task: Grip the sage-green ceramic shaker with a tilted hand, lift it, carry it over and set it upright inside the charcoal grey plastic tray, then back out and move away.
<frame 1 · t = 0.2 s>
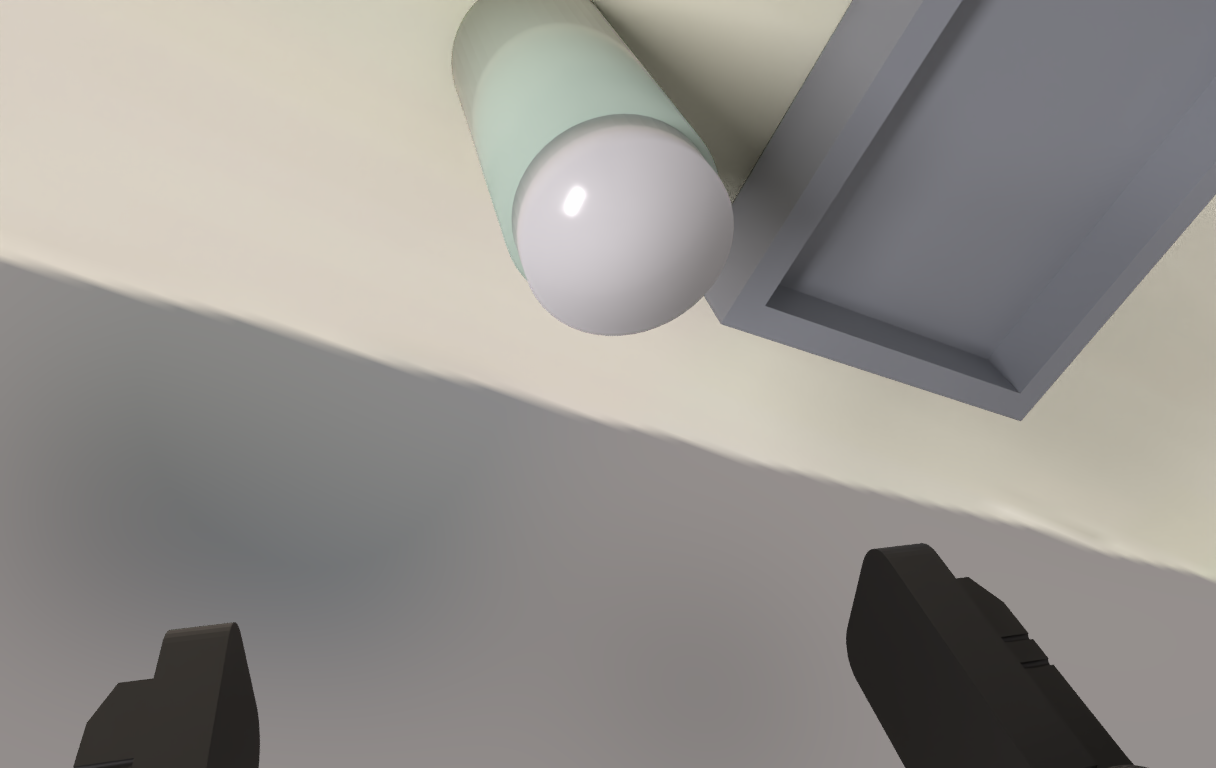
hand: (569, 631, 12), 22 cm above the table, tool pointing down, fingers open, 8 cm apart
shaker: (533, 63, 30), on the table
tray: (997, 115, 35), on the table
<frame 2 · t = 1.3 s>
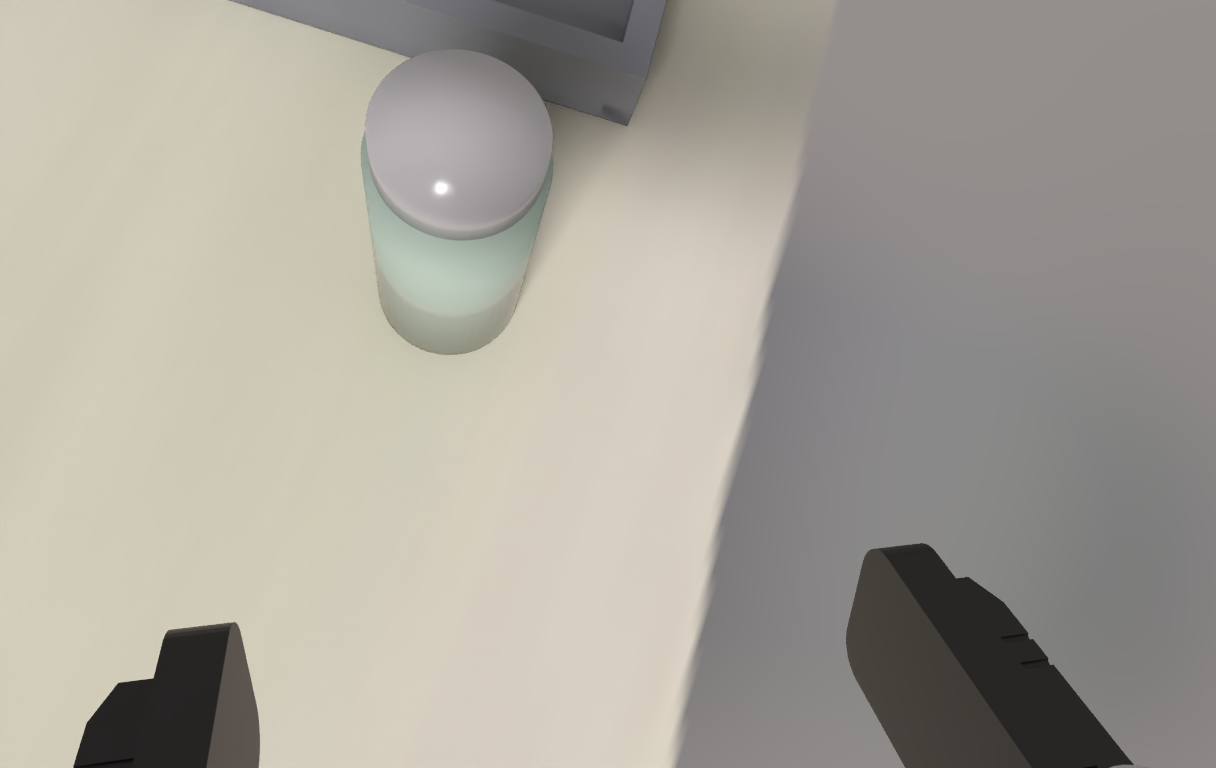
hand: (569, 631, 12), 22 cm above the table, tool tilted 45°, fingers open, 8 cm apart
shaker: (449, 288, 36), on the table
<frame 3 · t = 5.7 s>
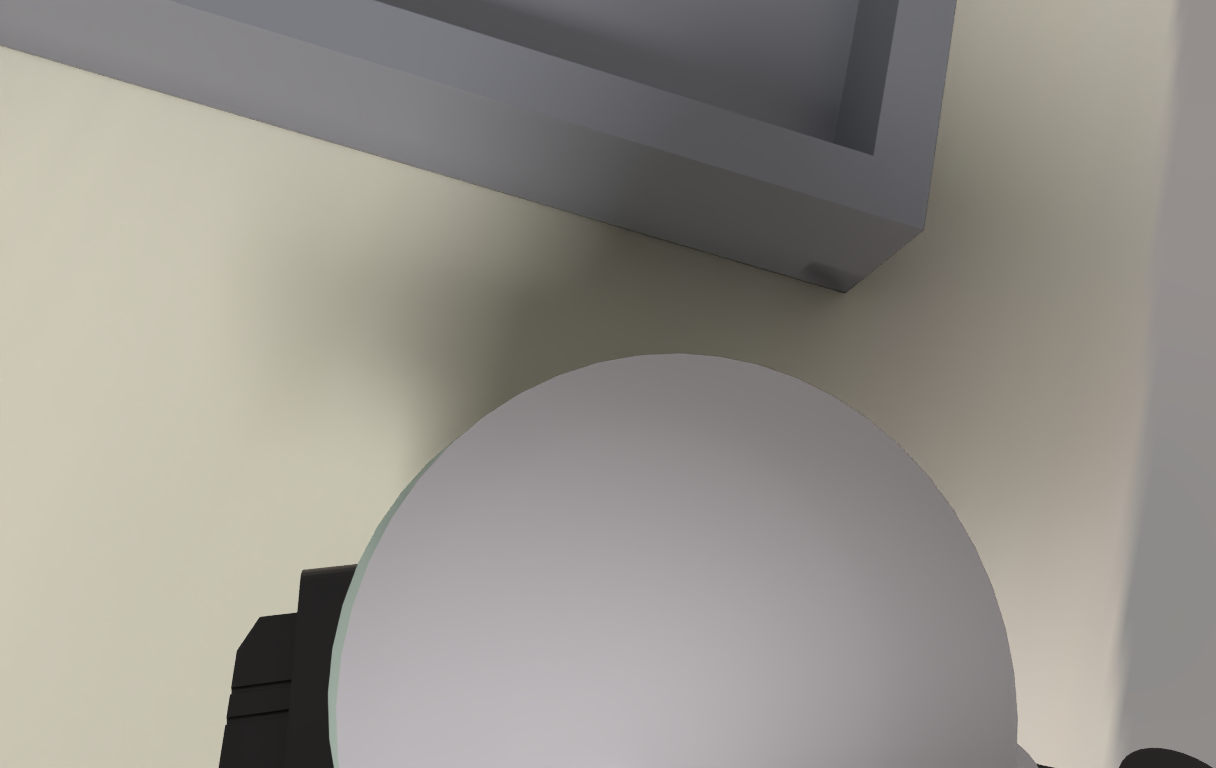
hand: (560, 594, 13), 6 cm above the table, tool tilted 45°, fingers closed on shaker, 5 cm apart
shaker: (527, 650, 18), on the table, touching gripper
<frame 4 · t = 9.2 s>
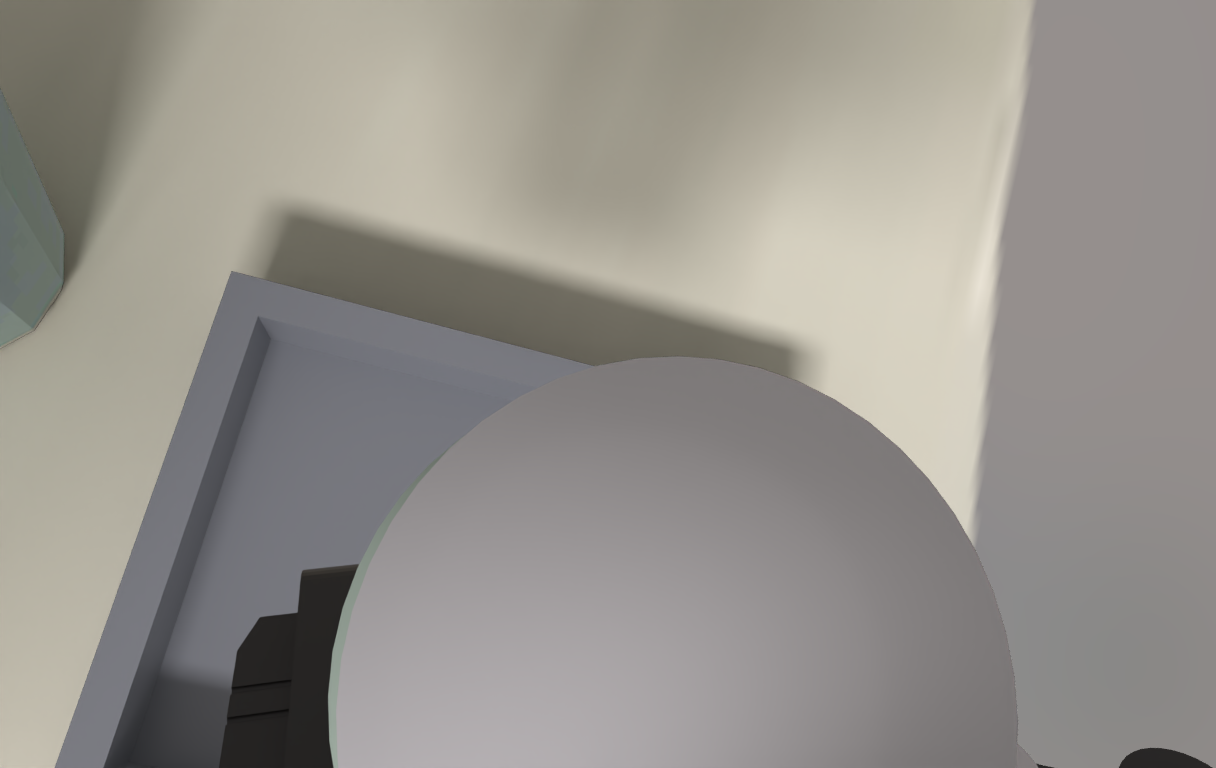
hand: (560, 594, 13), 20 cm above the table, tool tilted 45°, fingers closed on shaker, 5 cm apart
shaker: (527, 651, 18), point 14 cm above the table, touching gripper
tray: (474, 600, 32), on the table
when the fingers open (8 cm above the table, at t = 12.8 s): shaker drops 1 cm, resting on tray.
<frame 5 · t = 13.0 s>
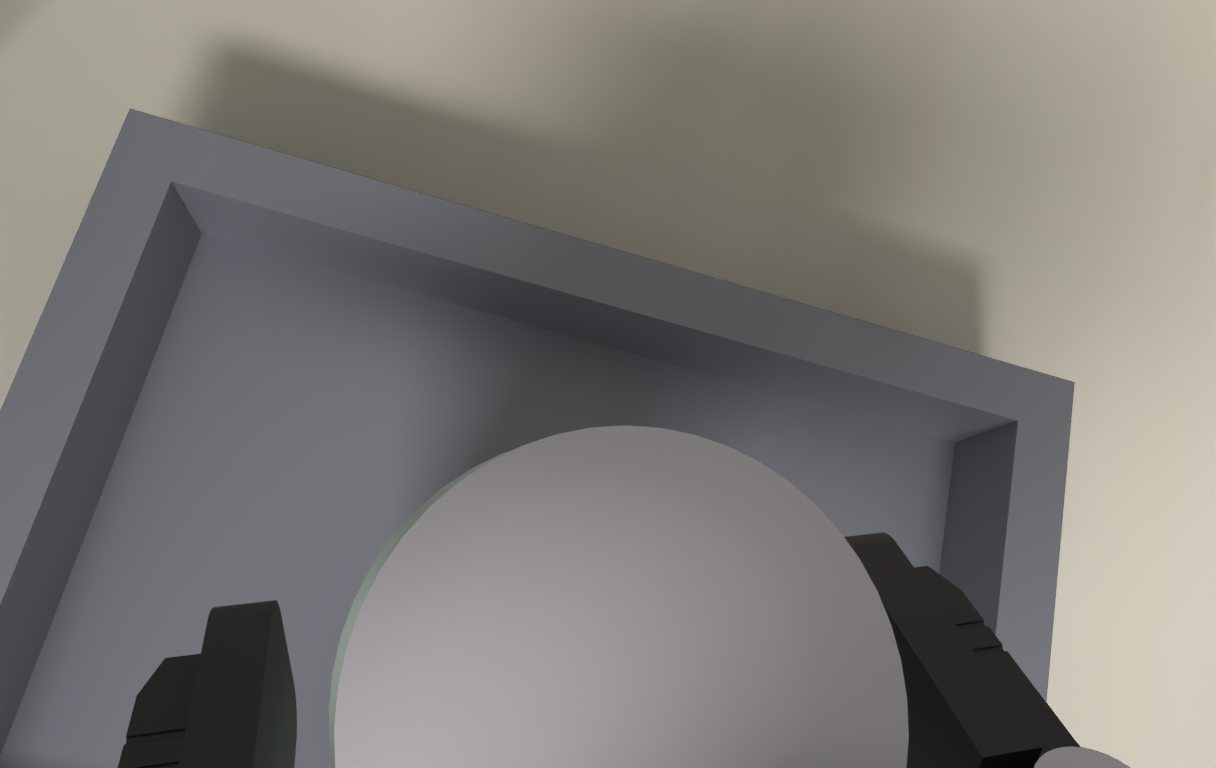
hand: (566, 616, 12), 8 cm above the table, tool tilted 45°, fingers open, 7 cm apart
shaker: (517, 656, 19), point 1 cm above the table, touching tray
tray: (516, 648, 20), on the table
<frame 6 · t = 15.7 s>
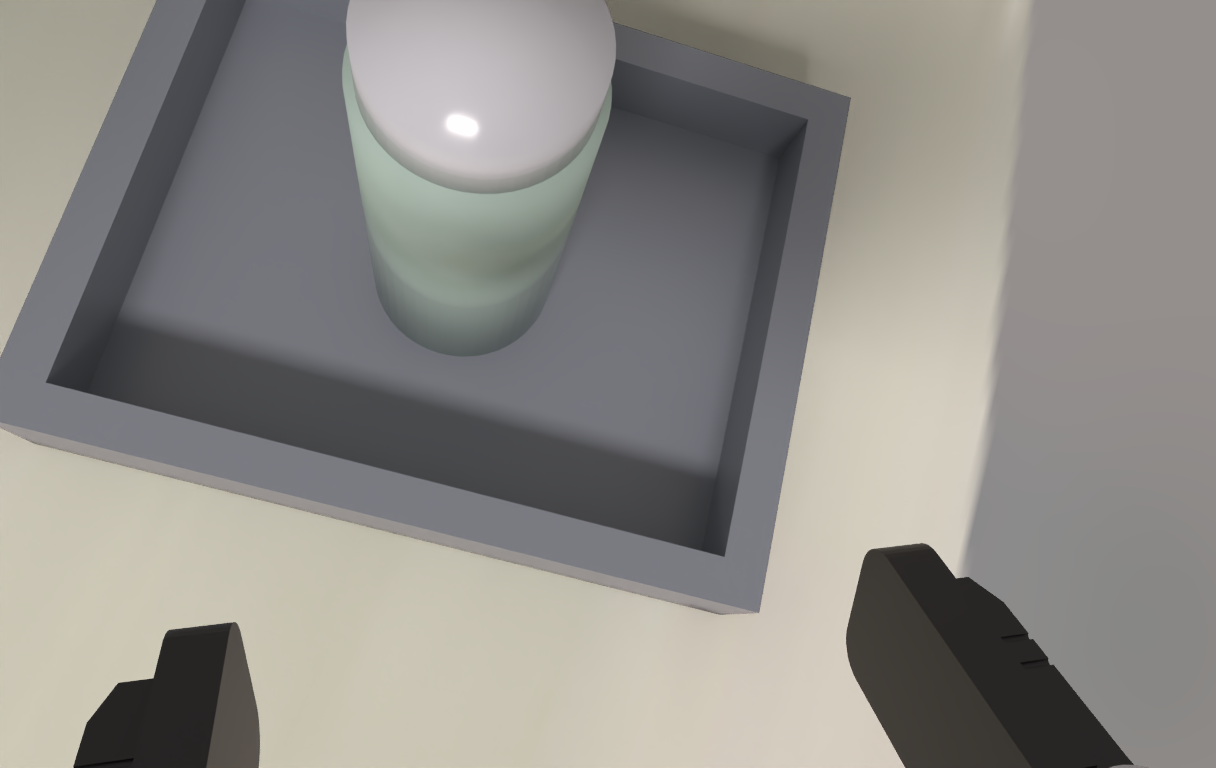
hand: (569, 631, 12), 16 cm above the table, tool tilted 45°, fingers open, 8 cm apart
shaker: (463, 273, 28), point 1 cm above the table, touching tray
tray: (465, 280, 29), on the table
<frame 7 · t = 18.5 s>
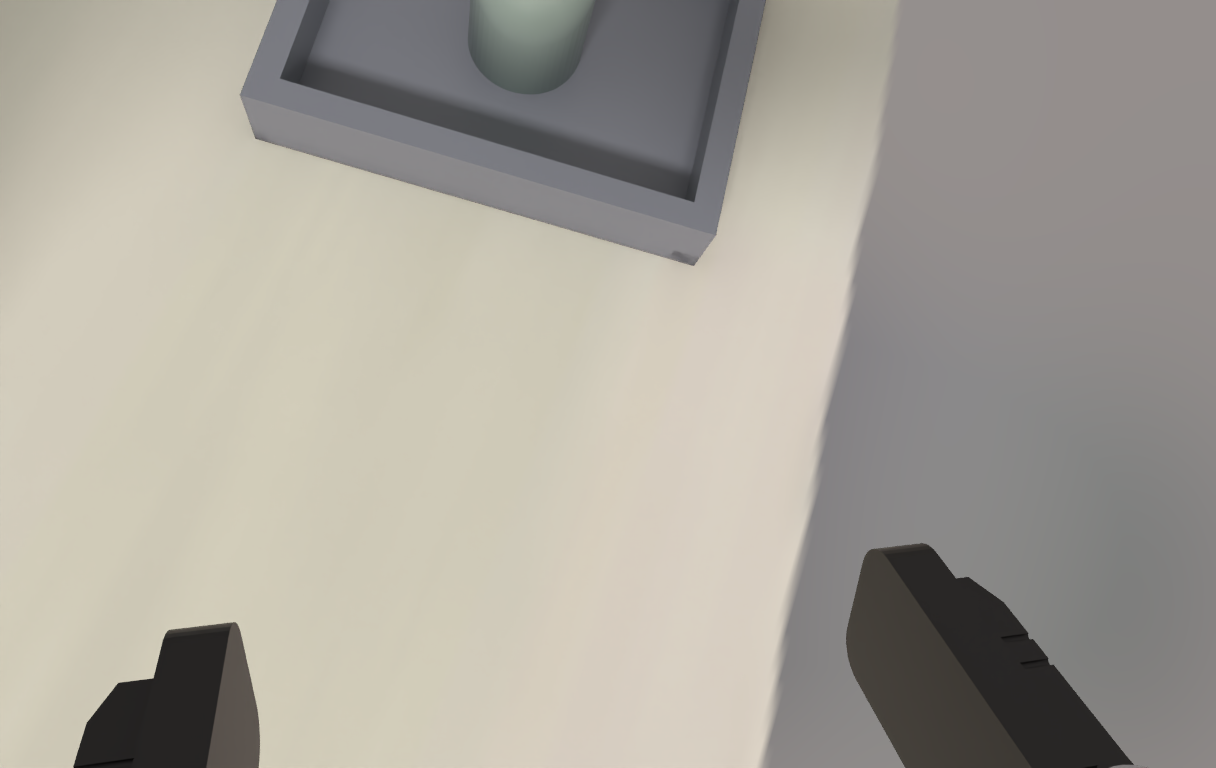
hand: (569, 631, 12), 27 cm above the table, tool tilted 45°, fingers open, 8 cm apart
shaker: (525, 43, 43), point 1 cm above the table, touching tray
tray: (524, 53, 44), on the table
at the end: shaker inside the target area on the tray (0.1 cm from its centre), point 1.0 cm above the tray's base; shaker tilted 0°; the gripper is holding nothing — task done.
